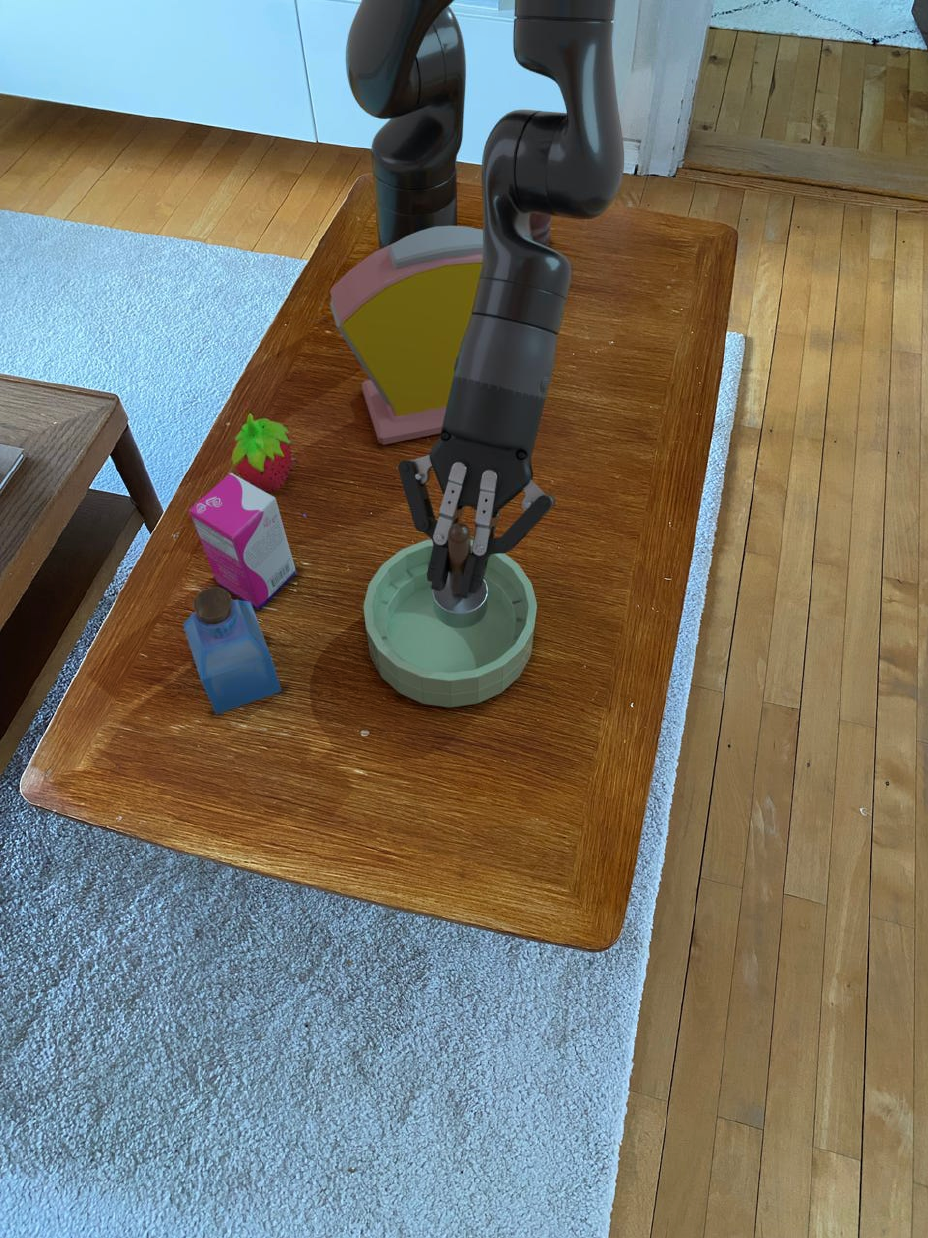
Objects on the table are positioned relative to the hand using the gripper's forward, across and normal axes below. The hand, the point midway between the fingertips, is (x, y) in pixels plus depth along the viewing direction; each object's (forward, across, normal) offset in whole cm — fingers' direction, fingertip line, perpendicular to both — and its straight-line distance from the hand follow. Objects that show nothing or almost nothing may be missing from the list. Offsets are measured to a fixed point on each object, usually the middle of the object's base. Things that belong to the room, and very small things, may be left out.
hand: (451, 591), depth 80 cm
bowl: (+7, +1, -11) cm, 13 cm away
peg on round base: (+2, 0, -5) cm, 5 cm away
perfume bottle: (+14, +18, -4) cm, 23 cm away
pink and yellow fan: (-14, +13, -32) cm, 37 cm away
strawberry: (-2, +26, -19) cm, 32 cm away
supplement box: (+6, +22, -11) cm, 25 cm away
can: (-36, +12, -54) cm, 66 cm away
